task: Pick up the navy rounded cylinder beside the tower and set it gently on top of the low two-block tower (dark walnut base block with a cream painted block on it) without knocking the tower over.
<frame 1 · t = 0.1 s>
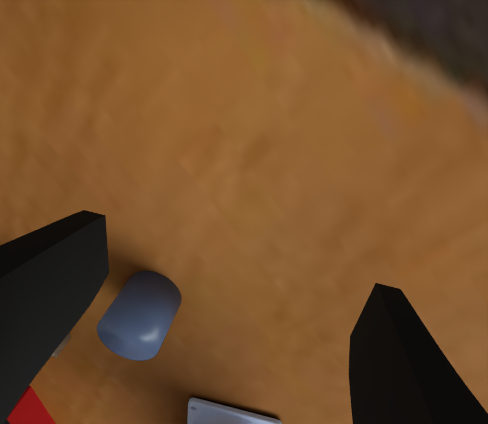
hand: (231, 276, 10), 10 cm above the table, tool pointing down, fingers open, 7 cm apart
navy rounded cylinder: (154, 292, 26), on the table
puzzle toy: (13, 407, 40), on the table
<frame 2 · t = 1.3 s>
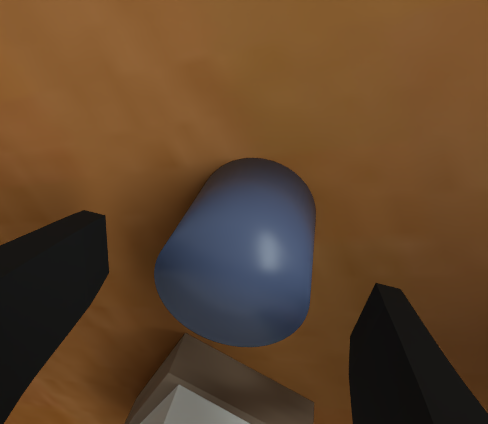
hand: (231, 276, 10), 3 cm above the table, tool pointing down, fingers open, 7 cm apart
navy rounded cylinder: (256, 212, 13), on the table
walnut base block: (220, 391, 19), on the table, touching cream top block
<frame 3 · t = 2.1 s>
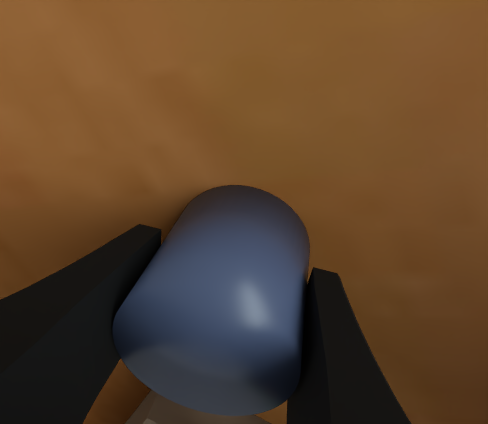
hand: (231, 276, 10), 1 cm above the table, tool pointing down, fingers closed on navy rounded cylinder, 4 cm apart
navy rounded cylinder: (241, 245, 11), on the table, touching gripper
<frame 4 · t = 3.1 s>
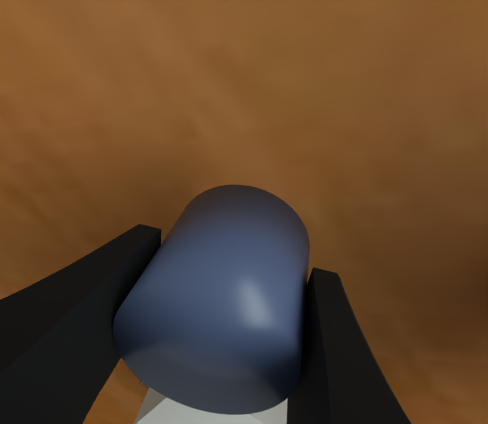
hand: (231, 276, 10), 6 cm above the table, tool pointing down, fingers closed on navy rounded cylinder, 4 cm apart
navy rounded cylinder: (241, 244, 11), point 5 cm above the table, touching gripper
cream top block: (222, 387, 20), point 2 cm above the table, touching walnut base block
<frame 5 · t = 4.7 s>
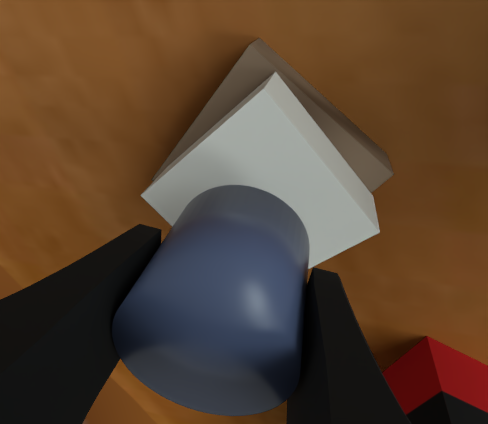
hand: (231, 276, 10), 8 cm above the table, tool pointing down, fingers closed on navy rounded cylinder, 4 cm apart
navy rounded cylinder: (241, 244, 11), point 7 cm above the table, touching gripper
walnut base block: (271, 154, 17), on the table, touching cream top block
puzzle toy: (440, 409, 23), on the table
cream top block: (265, 181, 15), point 2 cm above the table, touching walnut base block
when the fingers open (7 cm above the table, at t = 5.3 s): navy rounded cylinder drops 1 cm, resting on cream top block.
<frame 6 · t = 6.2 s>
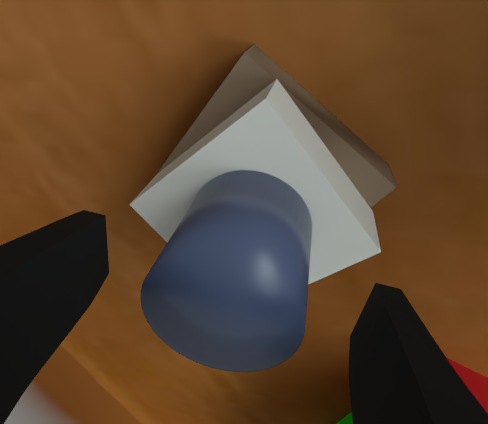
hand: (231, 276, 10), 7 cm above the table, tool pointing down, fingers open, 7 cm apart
navy rounded cylinder: (250, 225, 12), point 4 cm above the table, touching cream top block
walnut base block: (268, 163, 16), on the table, touching cream top block
puzzle toy: (444, 423, 22), on the table
cream top block: (261, 191, 14), point 2 cm above the table, touching navy rounded cylinder, walnut base block
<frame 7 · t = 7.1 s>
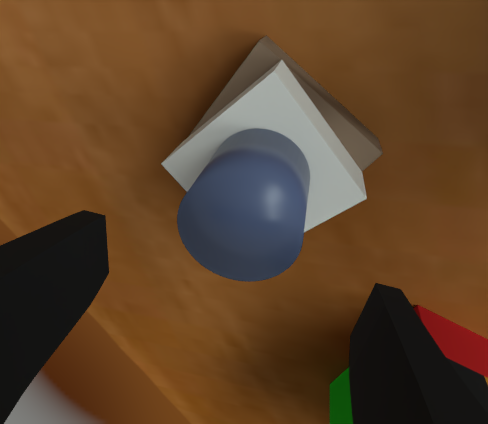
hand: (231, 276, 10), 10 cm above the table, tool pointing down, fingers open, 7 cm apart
navy rounded cylinder: (259, 176, 15), point 4 cm above the table, touching cream top block
walnut base block: (276, 139, 19), on the table, touching cream top block
puzzle toy: (431, 376, 25), on the table
cream top block: (268, 157, 17), point 2 cm above the table, touching navy rounded cylinder, walnut base block
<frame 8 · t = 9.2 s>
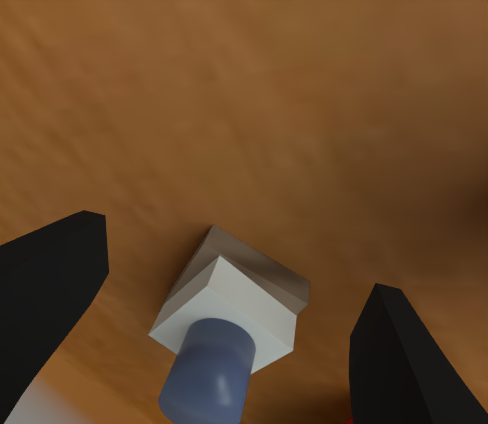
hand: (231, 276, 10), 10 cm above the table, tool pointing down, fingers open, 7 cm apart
navy rounded cylinder: (220, 343, 21), point 4 cm above the table, touching cream top block
walnut base block: (237, 280, 25), on the table, touching cream top block
cream top block: (227, 309, 23), point 2 cm above the table, touching navy rounded cylinder, walnut base block
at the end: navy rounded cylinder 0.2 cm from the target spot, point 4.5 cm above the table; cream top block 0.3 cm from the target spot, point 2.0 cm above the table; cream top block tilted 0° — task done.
